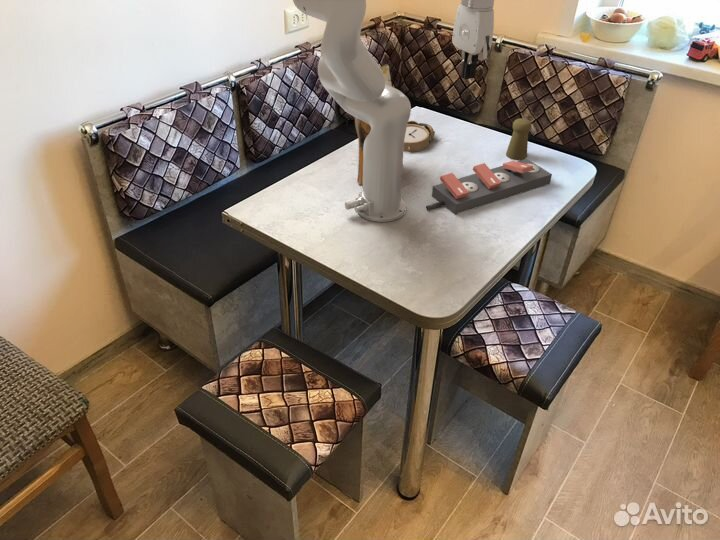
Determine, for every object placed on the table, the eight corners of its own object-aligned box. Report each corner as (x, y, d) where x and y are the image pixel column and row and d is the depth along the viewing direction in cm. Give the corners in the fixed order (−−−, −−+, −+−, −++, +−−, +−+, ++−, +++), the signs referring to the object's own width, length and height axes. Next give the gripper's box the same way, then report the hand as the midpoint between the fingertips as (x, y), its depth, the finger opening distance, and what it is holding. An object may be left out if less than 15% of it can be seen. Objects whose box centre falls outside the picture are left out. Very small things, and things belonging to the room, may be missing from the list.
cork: (528, 160, 178) (536, 125, 171) (507, 160, 178) (514, 124, 171) (524, 150, 183) (531, 116, 176) (504, 150, 183) (510, 115, 176)
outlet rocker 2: (487, 191, 159) (490, 185, 157) (471, 171, 163) (473, 166, 161) (498, 188, 160) (501, 182, 159) (482, 168, 164) (484, 162, 162)
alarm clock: (383, 136, 183) (412, 111, 190) (384, 150, 186) (412, 125, 194) (414, 147, 177) (442, 122, 185) (414, 161, 181) (442, 135, 188)
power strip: (438, 219, 153) (439, 208, 151) (415, 200, 160) (416, 189, 157) (549, 183, 168) (552, 172, 165) (524, 168, 174) (526, 157, 172)
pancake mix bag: (342, 182, 166) (342, 81, 149) (383, 156, 179) (387, 59, 161) (362, 190, 163) (365, 87, 146) (402, 163, 175) (409, 65, 158)
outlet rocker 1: (455, 201, 155) (457, 195, 153) (439, 181, 159) (440, 175, 157) (466, 197, 156) (469, 192, 155) (450, 178, 160) (452, 172, 158)
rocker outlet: (522, 176, 161) (522, 168, 161) (502, 170, 168) (502, 163, 167) (532, 173, 163) (532, 165, 162) (513, 167, 169) (513, 160, 168)
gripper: (445, -6, 147) (438, 70, 158) (485, 10, 137) (474, 90, 148) (470, -9, 150) (461, 65, 161) (511, 6, 140) (498, 85, 151)
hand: (467, 77), depth 155 cm, fingers closed
